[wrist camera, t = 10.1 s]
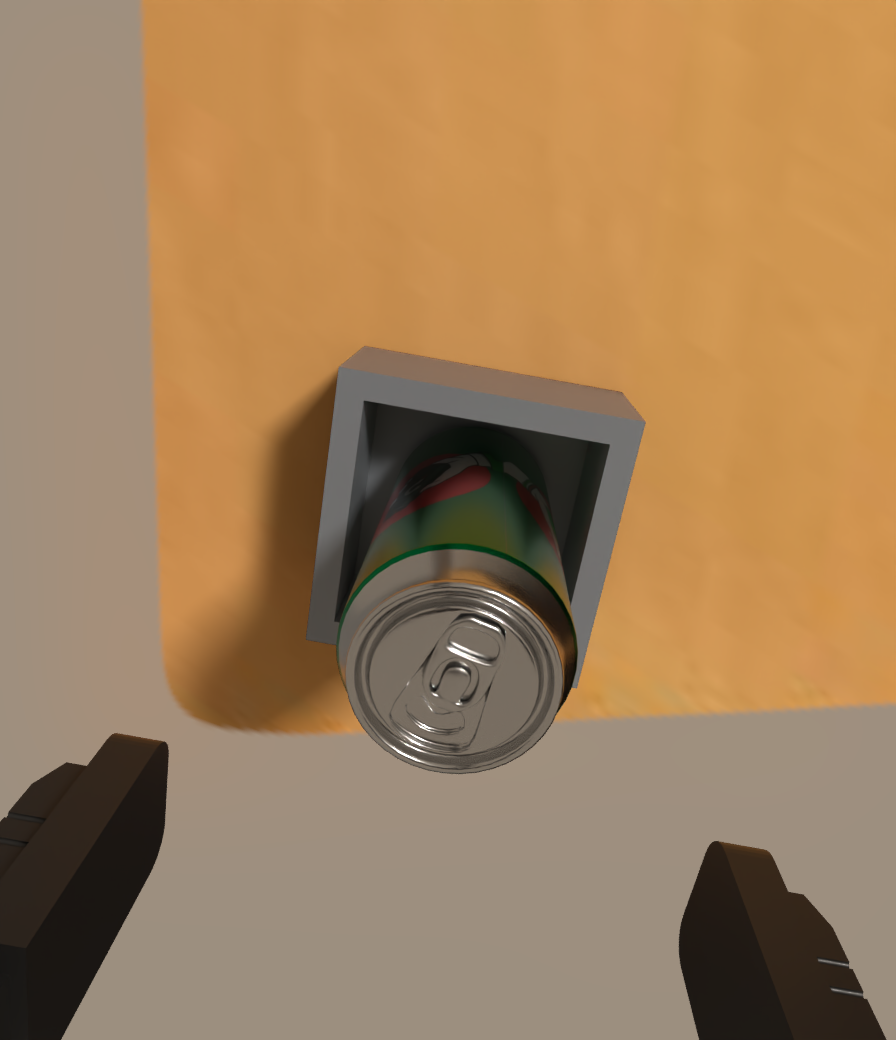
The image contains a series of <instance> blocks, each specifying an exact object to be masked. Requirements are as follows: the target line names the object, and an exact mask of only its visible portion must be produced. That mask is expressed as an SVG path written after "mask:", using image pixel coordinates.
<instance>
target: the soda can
mask: <svg viewBox="0 0 896 1040" xmlns="http://www.w3.org/2000/svg"><path fill="white" fill-rule="evenodd" d="M336 651H337V663H338V667H339V672H340V676H341V679H342V681H343V684H344V686H345V689H346V691H347V693H348V697H349V701H350V704H351V706H352V709H353V711H354V714H355V716H356V717H357V719H358V721H359V722H360V724H361V726H362V727H363V729H364V730H365V731H366V732H367V733H368V735H369V736H370V737H371V738H372V739H373V740H374V741H375V742H376V743H378V745H380V746H381V747H382V748H383V749H384V750H385V751H387V752H389V753H390V754H392V755H393V756H395V757H396V758H398V759H400V760H402V761H404V762H406V763H408V764H410V765H413V766H416V767H419V768H422V769H425V770H429V771H434V772H440V773H450V774H466V773H477V772H481V771H486V770H490V769H494V768H496V767H499V766H501V765H504V764H507V763H509V762H511V761H513V760H514V759H516V758H518V757H520V756H521V755H523V754H524V753H525V752H527V751H528V750H529V749H530V748H532V747H533V746H534V745H535V744H536V743H537V742H538V741H539V740H540V739H541V738H542V737H543V736H544V734H545V733H546V732H547V730H548V729H549V727H550V726H551V724H552V723H553V720H554V718H555V716H556V714H557V713H558V711H559V710H560V708H561V707H562V705H563V704H564V702H565V701H566V699H567V697H568V694H569V692H570V690H571V688H572V686H573V682H574V678H575V674H576V670H577V660H578V646H577V636H576V630H575V625H574V620H573V616H572V611H571V606H570V601H569V596H568V591H567V586H566V581H565V576H564V571H563V566H562V561H561V556H560V551H559V546H558V541H557V537H556V532H555V527H554V522H553V517H552V512H551V507H550V502H549V497H548V492H547V487H546V484H545V480H544V476H543V474H542V472H541V470H540V468H539V465H538V464H537V462H536V461H535V459H534V458H533V457H532V455H531V454H530V453H529V452H528V451H527V450H526V449H525V448H524V447H523V446H522V445H521V444H519V443H518V442H517V441H515V440H514V439H512V438H511V437H509V436H507V435H505V434H503V433H501V432H498V431H495V430H492V429H487V428H482V427H459V428H453V429H449V430H446V431H442V432H440V433H438V434H436V435H434V436H432V437H430V438H428V439H427V440H426V441H424V442H423V443H421V444H420V445H419V446H418V447H417V448H416V449H415V450H414V451H413V452H412V453H411V454H410V456H409V457H408V458H407V460H406V461H405V463H404V464H403V466H402V468H401V470H400V472H399V475H398V477H397V480H396V482H395V485H394V487H393V490H392V492H391V494H390V497H389V499H388V502H387V504H386V507H385V509H384V512H383V514H382V517H381V519H380V522H379V524H378V527H377V529H376V531H375V534H374V536H373V539H372V541H371V544H370V546H369V549H368V551H367V554H366V556H365V559H364V561H363V564H362V566H361V568H360V571H359V573H358V576H357V578H356V581H355V583H354V586H353V588H352V591H351V593H350V596H349V598H348V601H347V603H346V605H345V608H344V611H343V614H342V617H341V620H340V623H339V626H338V633H337V641H336Z"/></svg>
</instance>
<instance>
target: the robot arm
mask: <svg viewBox="0 0 896 1040" xmlns="http://www.w3.org/2000/svg"><path fill="white" fill-rule="evenodd" d="M168 752H169V750H168V745H167V743H166V742H163V741H158V740H152V739H147V738H141V737H135V736H130V735H123V734H118V733H114V734H112V735H111V736H110V737H109V738H108V739H107V740H106V742H105V743H104V744H103V746H102V747H101V749H100V750H99V751H98V752H97V754H96V755H95V756H94V758H93V759H92V760H91V761H90V763H89V764H88V765H87V766H83V765H78V764H72V763H65V764H64V765H62V766H60V767H58V768H57V769H55V770H54V771H52V772H50V773H49V774H47V775H46V776H44V777H43V778H41V779H39V780H37V781H36V782H34V783H33V784H31V786H30V787H29V788H28V789H27V791H26V792H25V793H24V794H23V795H22V797H21V798H20V799H19V800H18V801H17V802H16V804H15V805H14V806H13V807H12V808H11V810H10V811H9V813H8V816H7V818H5V817H4V818H3V819H2V820H1V822H0V1040H61V1039H62V1037H63V1035H64V1033H65V1031H66V1029H67V1027H68V1026H69V1024H70V1022H71V1020H72V1018H73V1016H74V1014H75V1012H76V1011H77V1009H78V1007H79V1005H80V1003H81V1001H82V999H83V998H84V996H85V994H86V992H87V990H88V988H89V986H90V985H91V983H92V981H93V979H94V977H95V975H96V973H97V971H98V969H99V968H100V966H101V964H102V962H103V960H104V958H105V956H106V955H107V953H108V951H109V949H110V947H111V945H112V943H113V942H114V940H115V938H116V936H117V934H118V932H119V930H120V929H121V927H122V925H123V923H124V921H125V919H126V917H127V916H128V914H129V912H130V910H131V908H132V906H133V904H134V902H135V900H136V899H137V897H138V895H139V893H140V891H141V889H142V888H143V886H144V884H145V882H146V880H147V878H148V876H149V875H150V873H151V870H152V869H153V866H154V864H155V861H156V859H157V856H158V853H159V849H160V846H161V843H162V838H163V833H164V826H165V811H166V793H167V774H168V757H169V755H168V754H169V753H168ZM679 957H680V964H681V969H682V973H683V977H684V981H685V985H686V989H687V993H688V997H689V1001H690V1005H691V1009H692V1013H693V1017H694V1021H695V1025H696V1029H697V1033H698V1037H699V1040H886V1038H885V1036H884V1034H883V1032H882V1029H881V1027H880V1025H879V1023H878V1021H877V1019H876V1017H875V1015H874V1013H873V1011H872V1009H871V1007H870V1004H869V1002H868V1000H867V999H864V998H863V990H862V988H861V986H860V984H859V982H858V980H857V978H856V975H855V973H854V971H853V969H849V961H848V959H847V957H846V955H845V952H844V950H843V948H842V946H841V944H840V942H839V940H838V938H837V936H836V934H835V932H834V930H833V928H832V926H831V925H830V924H829V923H828V922H827V921H826V920H825V918H824V917H823V916H822V915H821V914H820V913H819V912H818V911H817V909H816V908H815V907H814V906H813V905H812V904H811V903H810V902H809V900H808V899H807V898H806V897H805V896H804V895H802V894H797V893H791V892H788V891H787V888H786V886H785V884H784V882H783V879H782V877H781V875H780V872H779V870H778V868H777V865H776V863H775V861H774V859H773V857H772V855H771V854H770V853H769V852H768V851H767V850H764V849H758V848H752V847H747V846H741V845H735V844H730V843H724V842H719V841H714V842H712V843H711V844H710V845H709V847H708V849H707V852H706V853H705V856H704V860H703V862H702V865H701V867H700V870H699V873H698V876H697V879H696V882H695V884H694V887H693V890H692V893H691V895H690V898H689V901H688V904H687V907H686V909H685V912H684V915H683V918H682V922H681V927H680V934H679Z"/></svg>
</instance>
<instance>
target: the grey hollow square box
mask: <svg viewBox="0 0 896 1040" xmlns="http://www.w3.org/2000/svg"><path fill="white" fill-rule="evenodd" d="M644 426H645V421H644V419H643V418H642V417H641V416H640V414H639V413H638V412H637V411H636V409H635V408H634V407H633V406H632V404H631V403H630V402H629V401H628V399H627V398H626V397H625V396H624V394H623V393H622V392H618V391H612V390H606V389H601V388H595V387H590V386H584V385H579V384H573V383H568V382H562V381H556V380H551V379H545V378H540V377H534V376H529V375H523V374H517V373H512V372H506V371H501V370H495V369H490V368H484V367H478V366H473V365H467V364H462V363H456V362H451V361H445V360H440V359H434V358H428V357H423V356H417V355H412V354H406V353H401V352H395V351H389V350H384V349H378V348H373V347H367V346H364V347H363V348H362V349H360V350H359V351H358V352H357V353H355V354H354V355H353V356H352V357H350V358H349V359H348V360H347V361H346V362H344V363H343V364H342V365H341V366H339V370H338V379H337V387H336V395H335V403H334V411H333V420H332V428H331V436H330V444H329V453H328V461H327V469H326V477H325V486H324V494H323V502H322V510H321V519H320V527H319V535H318V543H317V551H316V560H315V568H314V576H313V584H312V593H311V601H310V609H309V617H308V626H307V634H306V640H310V641H316V642H321V643H327V644H332V645H336V641H337V633H338V626H339V623H340V620H341V617H342V614H343V611H344V608H345V605H346V603H347V601H348V598H349V596H350V593H351V591H352V588H353V586H354V583H355V581H356V578H357V576H358V573H359V571H360V568H361V566H362V564H363V561H364V559H365V556H366V554H367V551H368V549H369V546H370V544H371V541H372V539H373V536H374V534H375V531H376V529H377V527H378V524H379V522H380V519H381V517H382V514H383V512H384V509H385V507H386V504H387V502H388V499H389V497H390V494H391V492H392V490H393V487H394V485H395V482H396V480H397V477H398V475H399V472H400V470H401V468H402V466H403V464H404V463H405V461H406V460H407V458H408V457H409V456H410V454H411V453H412V452H413V451H414V450H415V449H416V448H417V447H418V446H419V445H420V444H421V443H423V442H424V441H426V440H427V439H428V438H430V437H432V436H434V435H436V434H438V433H440V432H442V431H446V430H449V429H453V428H459V427H482V428H487V429H492V430H495V431H498V432H501V433H503V434H505V435H507V436H509V437H511V438H512V439H514V440H515V441H517V442H518V443H519V444H521V445H522V446H523V447H524V448H525V449H526V450H527V451H528V452H529V453H530V454H531V455H532V457H533V458H534V459H535V461H536V462H537V464H538V465H539V468H540V470H541V472H542V474H543V476H544V480H545V484H546V487H547V492H548V497H549V502H550V507H551V512H552V517H553V522H554V527H555V532H556V537H557V541H558V546H559V551H560V556H561V561H562V566H563V571H564V576H565V581H566V586H567V591H568V596H569V601H570V606H571V611H572V616H573V620H574V625H575V630H576V636H577V646H578V660H577V670H576V674H575V678H574V682H573V686H572V688H577V686H578V682H579V678H580V674H581V670H582V666H583V662H584V658H585V655H586V651H587V647H588V643H589V639H590V635H591V631H592V627H593V624H594V620H595V616H596V612H597V608H598V604H599V600H600V597H601V593H602V589H603V585H604V581H605V577H606V573H607V569H608V566H609V562H610V558H611V554H612V550H613V546H614V542H615V538H616V535H617V531H618V527H619V523H620V519H621V515H622V511H623V507H624V504H625V500H626V496H627V492H628V488H629V484H630V480H631V477H632V473H633V469H634V465H635V461H636V457H637V453H638V449H639V446H640V442H641V438H642V434H643V430H644Z"/></svg>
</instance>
